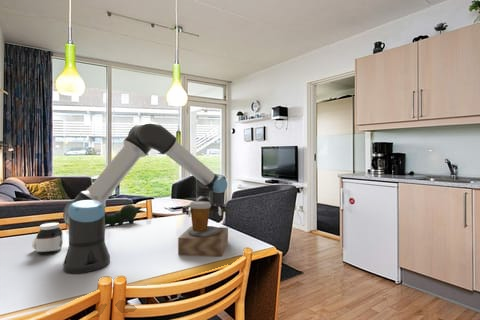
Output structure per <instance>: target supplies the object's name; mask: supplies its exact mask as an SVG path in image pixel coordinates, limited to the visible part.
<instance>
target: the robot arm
mask: <svg viewBox="0 0 480 320" xmlns="http://www.w3.org/2000/svg"><path fill="white" fill-rule="evenodd" d="M127 134H128V135H127V136H126V137H125V139H124V140H123V146H122V148H121V149H120V150H119V151H118V153H116V154H115V156H114V157H113V158H112V160H111V161H110V162H109V163H108V164H107V166H106V167H105V168H104V169H103V170H102V172H101V173H100V174H99V175H98V177H97V178H96V179H95V180H94V182H93V183H92V184H91V185H90V186H89V187H88V188H89V189H88V190H87V189H86V190H82V191H80V193H78V194H77V196H75V198H74V199H72V200H71V201H70V202H69V203H67V204H66V205H65V207H64V209H63V212H62V217H63V221H64V223H65V224H66V225H67V227H68V249H67V250H66V251H67V252H66V254H65V257H64V261H63V265H62V267H63V268H62V269H63V272H65V273H66V274H67V273H68V274H85V273H90V272H95V271H98V270H100V269H103V268H105V267H107V266H108V265H109V264H110V262H111V256H110V253H109V250H108V247H107V244H106V238H105V236H106V231H105V229H106V228H105V226H106V225H105V212H106V207H107V204H106V202H107V200H108V199H109V196H110V197H111V195H112V194H113V193H114V191H115V190H116V189H117V187H118V186H119V185H120V184H121V183H122V181H123V180H124V179H125V178H126V176H127V175H128V174H129V172H130V171H131V170H132V169H133V167H134V166H135V165H136V163H137V162H138V161H139V160H140V158H145V157H146V156H147V155H148V154H149V153H150V151H151V150H155V151H157V152H159V153H160V154H161V155H166V156H167V157H168V158H170V159H171V160H173V162H175V163H176V164H178V165H179V166H180V167H181V168H182V169H184V170H185V171H187V172H188V174H190V175H192V176H193V177H194V178H195V187H196V188H195V190H196V191H195V201H207V202H210V204H211V207H210V212H217V213H218V215H219V216H222V214H223V213H226V212H227V206H226V205H223V204H219V203H217V202H216V203H215V204H213V203H212V201H211V192H214V193H215V194H216V193H217V194H219V193H221V194H222V193H224V192H226V191H227V188H228V181H227V179H226V178H224V177H220V176H218V174H216V173H214V172H213V171H212V170H211V169H210V168H209V167H208V166H206V165H205V164H204V163H203V162H202V161H200V159H198V158H197V157H196V156H195V155H193V153H191V152H190V151H189V150H188V149H186V148H185V146H183V145H182V144H181V143H179V142H178V138H177V137H176V136H175V135H174V134H172V133H171V132H170V131H169V130H168V129H166V128H165V127H164V126H163V125H161V124H160V123H157V122H154V121H146V122H143V123H139V124H136V125H133V127H131V128H130V130H129V131H128V133H127ZM190 204H191V203H189V204H188V205H185V206H182V209H181V210H182V214H186V216H188V217H190V218H191V208H190Z"/></svg>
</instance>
